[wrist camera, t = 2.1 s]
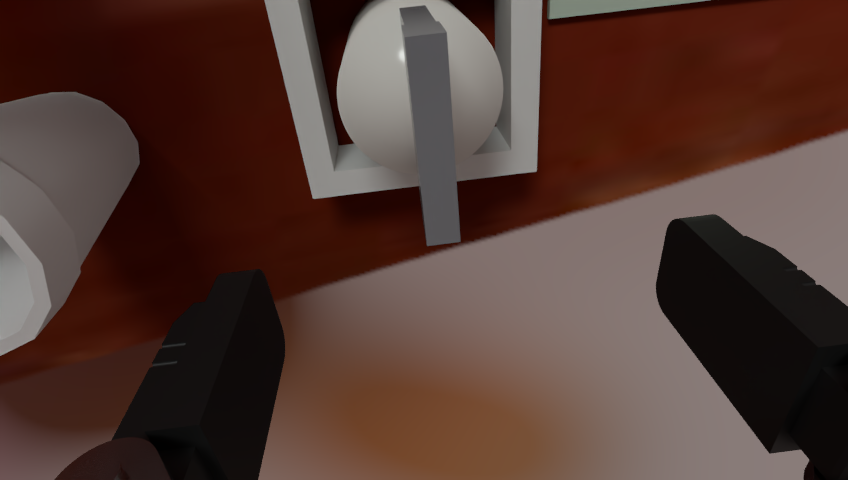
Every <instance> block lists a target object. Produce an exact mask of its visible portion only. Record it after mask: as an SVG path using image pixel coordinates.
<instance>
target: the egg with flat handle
mask: <svg viewBox="0 0 848 480" xmlns="http://www.w3.org/2000/svg"><path fill="white" fill-rule="evenodd" d="M502 101H503V76H502V71H501V67H500V64H499V61H498V58H497V55H496V53H495V51H494V49H493V47H492V45H491V44H490V43H489V41H488V40H487V38H486V37H485V36H484V35H483V34H482V32H481V31H480V30H479V29H478V28H477V27H476V26H475V25H474V24H473V23H472V22H471V21H470V20H468V19H467V18H466V17H465V16H464V15H463V14H462V13H461V12H460V11H459V10H458V9H457V8H456V7H455V6H454V5H453V4H452V3H451V2H450V1H449V0H368V1H367V2H366V3H365V4H364V5H363V6H362V8H361V9H360V10H359V12H358V13H357V15H356V17H355V18H354V21H353V23H352V25H351V29H350V32H349V36H348V40H347V44H346V47H345V51H344V55H343V59H342V63H341V67H340V70H339V74H338V81H337V102H338V109H339V113H340V117H341V120H342V122H343V125H344V127H345V129H346V131H347V133H348V134H349V136H350V138H351V139H352V140H353V142H354V143H355V144H356V146H357V147H358V148H359V149H360V150H361V151H362V152H363V153H364V154H365V155H367V156H368V157H369V158H370V159H372V160H373V161H375V162H377V163H378V164H380V165H382V166H384V167H386V168H388V169H391V170H395V171H398V172H402V173H408V174H418V182H419V191H420V200H421V209H422V218H423V224H424V230H425V236H426V242H427V246H431V245H439V244H447V243H455V242H461V241H460V226H459V211H458V195H457V180H456V165H457V164H459V163H461V162H463V161H464V160H466V159H467V158H468V157H470V156H471V155H472V154H474V153H475V152H476V151H477V150H478V149H479V148H480V147H481V146H482V144H483V143H484V142H485V141H486V139H487V138H488V137H489V135H490V133H491V132H492V130H493V128H494V126H495V124H496V122H497V120H498V117H499V114H500V110H501V106H502Z"/></svg>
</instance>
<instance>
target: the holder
mask: <svg viewBox="0 0 848 480" xmlns="http://www.w3.org/2000/svg"><path fill="white" fill-rule="evenodd" d="M265 4H266V8H267V12H268V16H269V21H270V25H271V29H272V33H273V37H274V41H275V45H276V49H277V53H278V57H279V61H280V66H281V70H282V74H283V78H284V82H285V86H286V90H287V94H288V98H289V102H290V107H291V111H292V115H293V119H294V123H295V127H296V131H297V135H298V139H299V143H300V148H301V152H302V156H303V160H304V164H305V168H306V172H307V176H308V180H309V184H310V189H311V193H312V197H313V199H317V198H325V197H333V196H341V195H349V194H358V193H366V192H374V191H382V190H390V189H398V188H406V187H414V186H419V182H418V174H408V173H402V172H398V171H395V170H391V169H388V168H386V167H384V166H382V165H380V164H378V163H377V162H375V161H373V160H372V159H370V158H369V157H368V156H367V155H365V154H364V153H363V152H362V151H361V150H360V149H359V148H358V147H357V146H356V144H347V145H338V140H337V135H336V130H335V125H334V120H333V115H332V110H331V105H330V100H329V95H328V90H327V85H326V80H325V75H324V70H323V65H322V60H321V55H320V50H319V45H318V40H317V35H316V30H315V25H314V20H313V15H312V10H311V5H310V0H265ZM494 5H495V53H496V55H497V58H498V61H499V64H500V67H501V71H502V76H503V101H502V106H501V110H500V114H499V117H498V120H497V122H496V127H494V128H493V130H492V132H491V133H490V135H489V137H488V138H487V139H486V141H485V142H484V143H483V144H482V146H481V147H480V148H479V149H478V150H477V151H476V152H475V153H474V154H472V155H471V156H470V157H468V158H467V159H466V160H464V161H463V162H461V163H459V164H457V165H456V180H457V181H463V180H471V179H479V178H488V177H496V176H504V175H512V174H520V173H528V172H536V171H537V149H538V117H539V86H540V54H541V22H542V0H494Z"/></svg>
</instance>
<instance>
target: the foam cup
mask: <svg viewBox="0 0 848 480" xmlns="http://www.w3.org/2000/svg"><path fill="white" fill-rule="evenodd" d="M139 164H140V160H139V149H138V141H137V140H136V138H135V136H134V135H133V133H132V131H131V129H130V128H129V126H128V124H127V123H126V121H125V120H124V119H123V118H122V117H121V116H119V115H118V114H117V113H116V112H115V111H113V110H112V109H111V108H110V107H108V106H107V105H106V104H105V103H104V102H102V101H99V100H96V99H94V98H91V97H88V96H86V95H83V94H80V93H77V92H51V93H48V94H40V95H36V96H32V97H27V98H23V99H19V100H15V101H11V102H6V103H2V104H0V356H1V355H3V354H5V353H7V352H9V351H11V350H13V349H15V348H17V347H19V346H21V345H23V344H25V343H27V342H29V341H31V340H33V339H35V338H36V337H37V335H38V334H39V333H40V332H41V331H42V329H43V328H44V327H45V326H46V325H47V323H48V322H49V321H50V320H51V319H52V317H53V316H54V315H55V314H56V313H57V311H58V310H59V309H60V308H61V307H62V305H63V304H64V303H65V301H66V299H67V297H68V295H69V294H70V292H71V290H72V288H73V286H74V284H75V282H76V280H77V278H78V277H79V275H80V273H81V271H80V266H81V265H82V263H83V261H84V260H85V258H86V256H87V254H88V253H89V251H90V249H91V248H92V246H93V244H94V243H95V241H96V239H97V238H98V236H99V234H100V232H101V231H102V229H103V227H104V226H105V224H106V222H107V221H108V219H109V217H110V215H111V214H112V212H113V210H114V209H115V207H116V205H117V204H118V202H119V200H120V198H121V197H122V195H123V193H124V192H125V190H126V188H127V187H128V185H129V183H130V181H131V179H132V177H133V175H134V173H135V172H136V170H137V168H138V166H139Z"/></svg>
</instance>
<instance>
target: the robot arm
mask: <svg viewBox="0 0 848 480" xmlns="http://www.w3.org/2000/svg"><path fill="white" fill-rule="evenodd" d="M656 293H657V298H658V302H659V305H660V307H661V309H662V312H663V313H664V314H665V316H666V317H667V318H668V320H669V321H670V322H671V324H672V325H673V326H674V328H675V329H676V330H677V332H678V333H679V334H680V336H681V337H682V338H683V340H684V341H685V342H686V343H687V345H688V346H689V348H690V349H691V350H692V351H693V353H694V354H695V355H696V357H697V358H698V359H699V361H700V362H701V363H702V365H703V366H704V367H705V369H706V370H707V371H708V372H709V374H710V375H711V377H712V378H713V379H714V380H715V382H716V383H717V385H718V386H719V387H720V388H721V390H722V391H723V392H724V394H725V395H726V396H727V398H728V399H729V400H730V402H731V403H732V404H733V406H734V407H735V408H736V410H737V411H738V412H739V413H740V415H741V416H742V417H743V419H744V420H745V421H746V423H747V424H748V426H749V427H750V428H751V429H752V431H753V432H754V433H755V434H756V436H757V437H758V439H759V440H760V441H761V443H762V444H763V445H764V447H765V448H766V449H767V451H768V452H769V453H777V452H785V451H792V450H799V449H801V450H802V451H803V452H804V454H805V455H806V456H807V457H808V458H809V462H808V464H807V466H806V468H805V470H804V480H848V306H846V305H845V304H844V303H842V302H841V301H840V300H839V299H838V298H836V297H835V296H834V295H833V294H831V293H830V292H829V291H827V290H826V289H825V288H824V287H822V286H821V285H816V284H815V280H813V279H812V278H811V277H810V276H808V275H807V274H806V273H805V272H803V271H802V270H797V266H796V265H795V264H793V263H792V262H791V261H789V260H788V259H787V258H786V257H784V256H783V255H782V254H781V253H779V252H778V251H777V250H775V249H774V248H771V247H769V246H767V245H765V244H763V243H760V242H758V241H756V240H754V239H752V238H750V237H747V236H743V235H742V234H740V233H739V232H738V231H737V230H735V229H734V228H733V227H732V226H731V225H729V224H728V223H727V222H726V221H724V220H723V219H722V218H721V217H719V216H717V215H704V216H696V217H688V218H679V219H674V220H672V221H671V222H670V224H669V225H668V228H667V231H666V236H665V241H664V246H663V251H662V256H661V262H660V266H659V271H658V277H657V282H656ZM284 357H285V339H284V333H283V329H282V325H281V322H280V319H279V316H278V313H277V310H276V307H275V304H274V301H273V298H272V295H271V292H270V289H269V286H268V283H267V280H266V277H265V275H264V273H263V272H262V271H261V270H260V269H256V270H248V271H239V272H231V273H223V274H220V275H218V276H217V278H216V280H215V282H214V284H213V287H212V289H211V291H210V293H209V295H208V297H207V299H206V301H205V302H199V303H194V304H193V305H192V306H191V307H189V308H188V309H187V310H186V311H185V312H184V313H183V314H182V315H181V316H180V317H179V318H178V319H177V320H176V321H175V322H174V323H173V324H172V326H171V328H170V330H169V332H168V334H167V336H166V338H165V340H164V342H163V343H162V349H159V351H158V353H157V355H156V357H155V359H154V361H153V362H152V364H153V367H151V368H149V370H148V372H147V374H146V376H145V378H144V380H143V382H142V383H141V385H140V387H139V389H138V391H137V393H136V395H135V397H134V399H133V401H132V403H131V404H130V406H129V408H128V410H127V412H126V414H125V416H124V418H123V419H122V421H121V423H120V425H119V427H118V429H117V431H116V433H115V435H114V437H113V438H112V440H111V441H109V442H106V443H103V444H101V445H99V446H97V447H95V448H93V449H91V450H89V451H88V452H86V453H84V454H83V455H81V456H80V457H78V458H77V459H76V460H74V461H73V462H72V463H71V464H69V465H68V466H67V467H66V468H65V469H64V470H63V471H62V472H61V473H60V474H59V475H58V476H57V477H56V479H55V480H258V477H259V473H260V468H261V464H262V459H263V455H264V450H265V445H266V441H267V436H268V432H269V427H270V423H271V418H272V414H273V409H274V404H275V400H276V395H277V390H278V386H279V382H280V377H281V372H282V368H283V363H284Z"/></svg>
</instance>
